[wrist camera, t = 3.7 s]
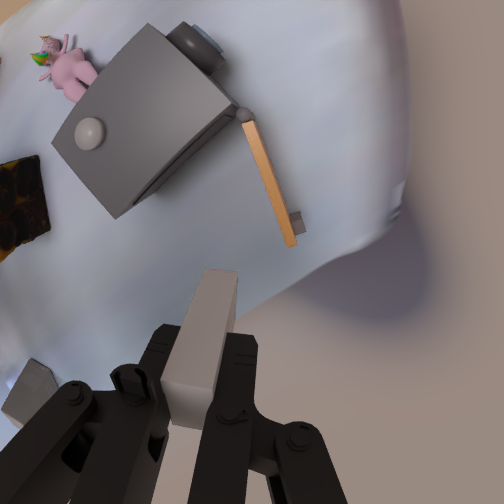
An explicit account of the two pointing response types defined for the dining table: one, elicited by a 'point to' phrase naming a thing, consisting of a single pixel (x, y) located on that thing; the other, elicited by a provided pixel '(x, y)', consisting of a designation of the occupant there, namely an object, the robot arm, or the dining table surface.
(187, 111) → the camera body
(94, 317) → the dining table surface
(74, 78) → the pink creature figurine
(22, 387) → the skincare box
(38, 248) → the dining table surface
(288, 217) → the side door
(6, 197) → the candle
